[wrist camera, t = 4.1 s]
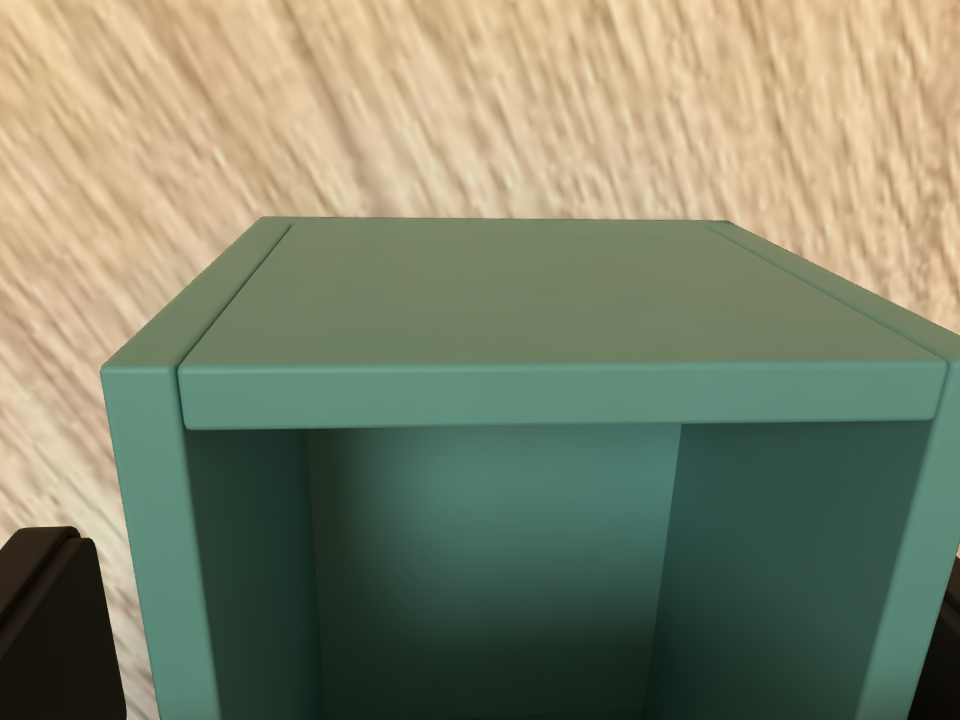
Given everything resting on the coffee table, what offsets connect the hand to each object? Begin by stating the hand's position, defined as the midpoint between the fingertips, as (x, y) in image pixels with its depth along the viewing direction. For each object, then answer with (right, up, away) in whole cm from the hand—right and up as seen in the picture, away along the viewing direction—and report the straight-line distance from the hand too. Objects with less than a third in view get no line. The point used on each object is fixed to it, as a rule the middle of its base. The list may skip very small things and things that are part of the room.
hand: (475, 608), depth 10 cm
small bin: (0, +1, +2) cm, 3 cm away
